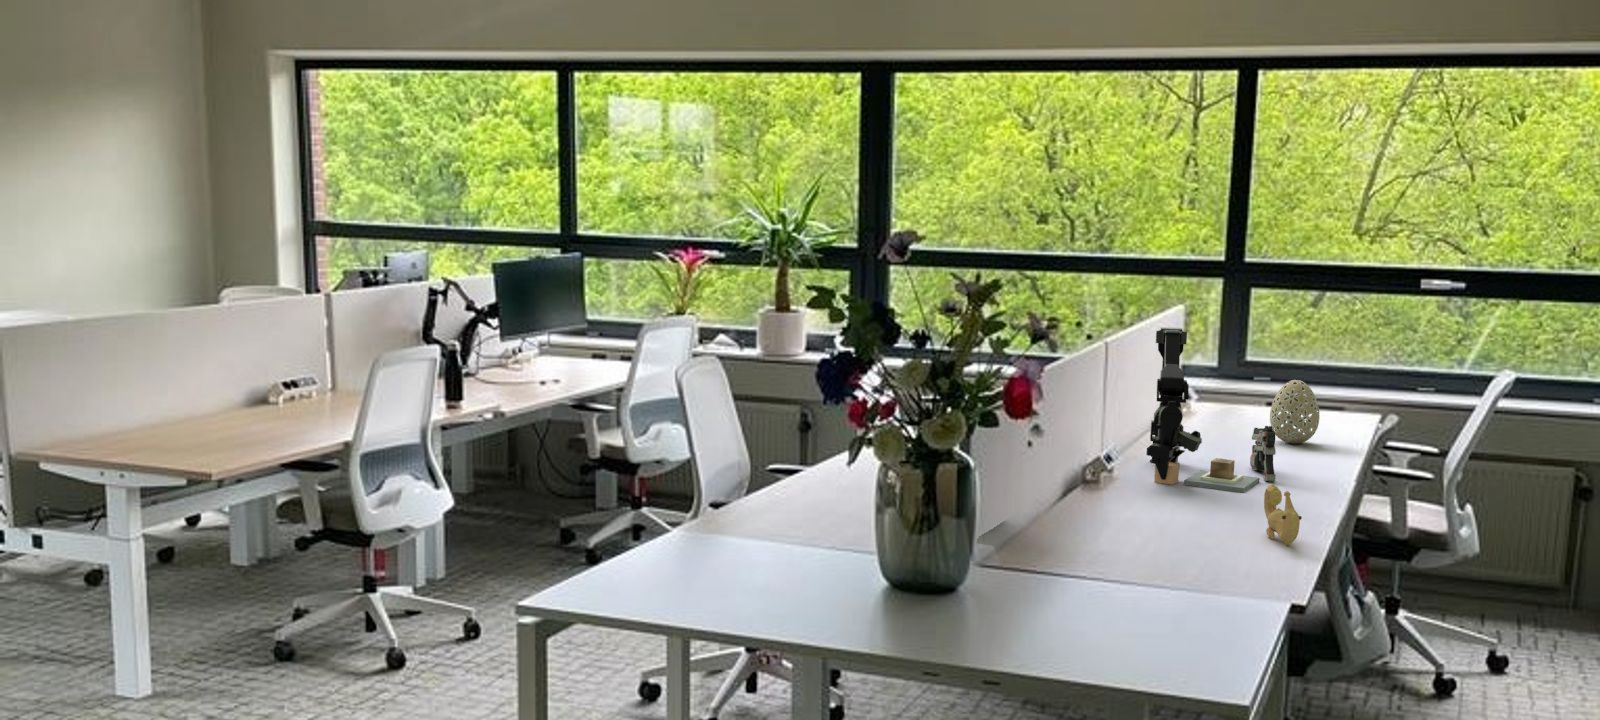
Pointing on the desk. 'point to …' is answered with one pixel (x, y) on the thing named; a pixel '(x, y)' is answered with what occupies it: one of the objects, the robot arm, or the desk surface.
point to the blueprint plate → (1221, 482)
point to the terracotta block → (1168, 474)
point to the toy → (1280, 515)
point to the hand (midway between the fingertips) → (1166, 477)
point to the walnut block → (1222, 469)
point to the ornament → (1294, 413)
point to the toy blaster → (1263, 452)
